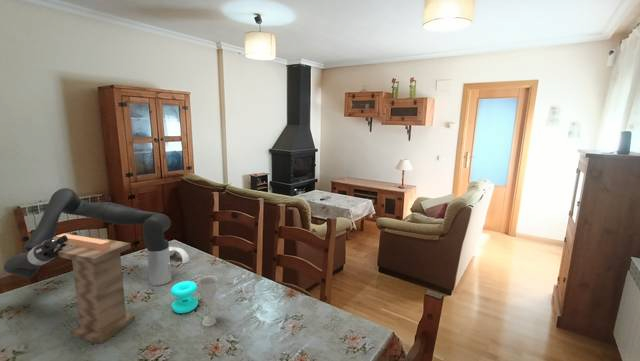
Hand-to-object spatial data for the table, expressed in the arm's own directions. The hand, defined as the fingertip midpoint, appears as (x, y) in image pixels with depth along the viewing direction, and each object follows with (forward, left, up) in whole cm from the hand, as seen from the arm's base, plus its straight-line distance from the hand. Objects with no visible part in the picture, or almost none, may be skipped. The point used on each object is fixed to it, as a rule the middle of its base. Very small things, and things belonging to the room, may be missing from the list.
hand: (71, 236), depth 112 cm
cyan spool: (-35, +11, -35) cm, 51 cm away
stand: (-7, +9, -35) cm, 37 cm away
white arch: (-38, -43, -35) cm, 68 cm away
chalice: (-41, +26, -35) cm, 60 cm away
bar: (-3, +4, -3) cm, 6 cm away
